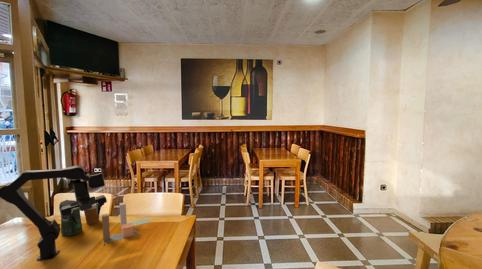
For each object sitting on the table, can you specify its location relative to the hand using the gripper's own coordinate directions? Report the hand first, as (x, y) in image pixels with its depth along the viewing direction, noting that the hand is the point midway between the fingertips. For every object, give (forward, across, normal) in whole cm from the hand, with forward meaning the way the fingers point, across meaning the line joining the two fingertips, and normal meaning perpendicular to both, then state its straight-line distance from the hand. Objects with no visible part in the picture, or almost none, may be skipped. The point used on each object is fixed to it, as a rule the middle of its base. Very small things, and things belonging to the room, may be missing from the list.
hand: (87, 221), depth 121 cm
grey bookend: (+15, +24, +9) cm, 30 cm away
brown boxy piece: (+14, +13, -2) cm, 19 cm away
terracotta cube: (+14, +16, -3) cm, 21 cm away
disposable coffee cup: (+13, +4, +30) cm, 33 cm away
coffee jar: (+12, -7, +22) cm, 26 cm away
